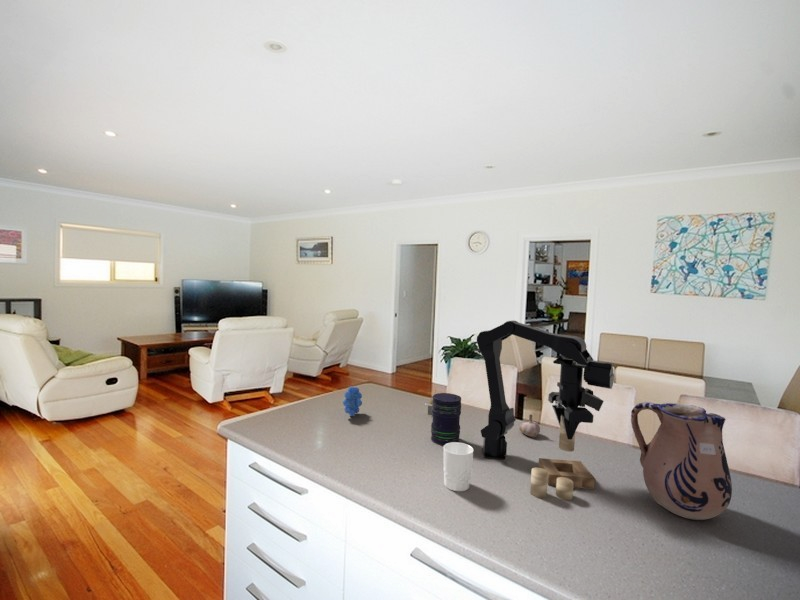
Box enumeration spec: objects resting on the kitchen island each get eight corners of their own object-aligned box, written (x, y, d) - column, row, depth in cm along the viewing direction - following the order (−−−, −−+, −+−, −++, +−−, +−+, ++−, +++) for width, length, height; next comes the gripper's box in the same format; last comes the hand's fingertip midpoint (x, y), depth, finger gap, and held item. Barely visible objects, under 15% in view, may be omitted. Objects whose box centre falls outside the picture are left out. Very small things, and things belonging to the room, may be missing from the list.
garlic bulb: (537, 440, 137) (538, 418, 137) (516, 435, 141) (517, 413, 141) (541, 433, 144) (542, 412, 143) (521, 429, 147) (522, 408, 147)
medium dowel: (532, 497, 99) (533, 474, 99) (528, 489, 103) (529, 467, 103) (548, 498, 99) (549, 475, 99) (544, 490, 103) (545, 468, 103)
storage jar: (426, 442, 131) (428, 398, 130) (435, 432, 140) (437, 391, 140) (455, 448, 127) (458, 403, 127) (462, 437, 136) (464, 395, 136)
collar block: (548, 485, 106) (549, 474, 106) (538, 468, 116) (538, 458, 116) (594, 488, 105) (594, 478, 105) (579, 471, 115) (580, 461, 115)
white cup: (453, 495, 98) (455, 456, 98) (436, 481, 105) (437, 444, 105) (477, 489, 102) (479, 451, 102) (459, 475, 109) (461, 440, 109)
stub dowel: (558, 499, 99) (559, 484, 99) (553, 491, 103) (554, 476, 103) (574, 501, 98) (575, 485, 98) (569, 492, 102) (570, 477, 102)
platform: (425, 408, 168) (426, 393, 168) (463, 418, 158) (464, 402, 158) (410, 415, 159) (411, 399, 158) (450, 426, 148) (451, 409, 148)
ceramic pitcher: (736, 542, 85) (745, 428, 84) (624, 509, 96) (631, 408, 95) (722, 505, 99) (729, 408, 98) (626, 480, 111) (632, 393, 110)
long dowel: (561, 450, 108) (563, 418, 108) (556, 444, 112) (558, 414, 112) (576, 452, 108) (578, 420, 107) (571, 446, 112) (573, 415, 111)
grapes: (352, 422, 147) (354, 390, 146) (338, 418, 150) (339, 388, 149) (369, 413, 157) (370, 384, 157) (355, 410, 160) (356, 381, 160)
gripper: (616, 392, 99) (612, 452, 100) (587, 375, 118) (583, 426, 119) (571, 389, 100) (567, 449, 101) (549, 373, 119) (546, 423, 119)
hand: (567, 436), depth 110 cm, fingers closed on long dowel, 4 cm apart
